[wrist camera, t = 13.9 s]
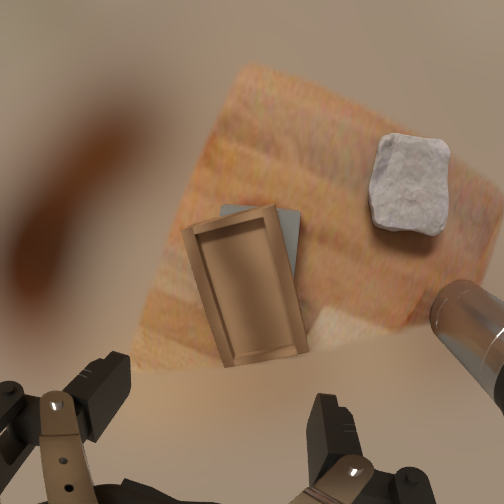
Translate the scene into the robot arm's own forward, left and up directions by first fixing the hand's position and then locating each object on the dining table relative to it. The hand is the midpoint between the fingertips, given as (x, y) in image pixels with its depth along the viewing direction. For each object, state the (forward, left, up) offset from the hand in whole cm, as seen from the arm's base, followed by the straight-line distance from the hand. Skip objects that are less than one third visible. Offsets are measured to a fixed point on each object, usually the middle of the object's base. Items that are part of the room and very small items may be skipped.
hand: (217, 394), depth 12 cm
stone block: (-11, -11, -27) cm, 31 cm away
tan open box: (0, +2, -24) cm, 24 cm away
